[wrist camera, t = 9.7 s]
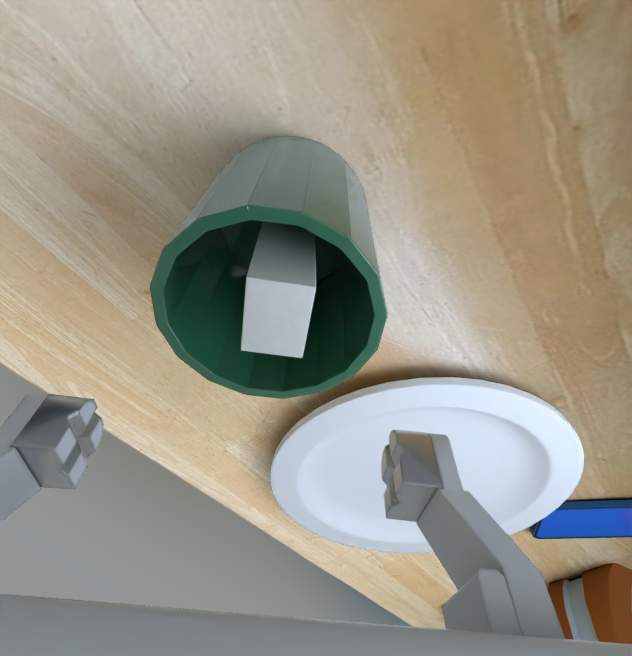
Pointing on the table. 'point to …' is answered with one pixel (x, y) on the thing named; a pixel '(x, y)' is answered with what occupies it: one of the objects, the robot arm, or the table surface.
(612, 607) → the alarm clock
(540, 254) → the table surface
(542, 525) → the smartphone
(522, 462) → the plate
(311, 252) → the toothpaste
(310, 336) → the green cup
